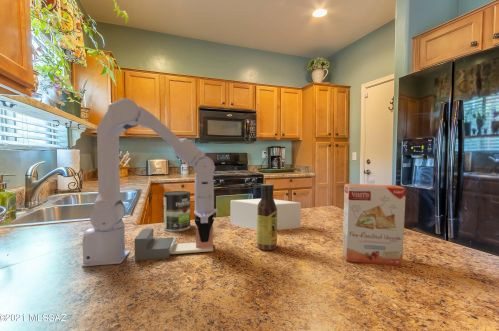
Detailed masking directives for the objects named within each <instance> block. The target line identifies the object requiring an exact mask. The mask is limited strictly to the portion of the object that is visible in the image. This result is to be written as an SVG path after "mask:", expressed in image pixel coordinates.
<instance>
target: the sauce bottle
mask: <svg viewBox="0 0 499 331" xmlns="http://www.w3.org/2000/svg"><path fill="white" fill-rule="evenodd" d="M274 188H275V187H274V184H271V183H263V184H262V183H261V184H260V191H261V193H260V194H261V196H260V199H261V200H260V202H259V204H258V208H257V209H258V214H257V230H256V243H257V248H258V249H260V250H262V251H273V250H275V249H276V248H277V243H278V230H277V208H276V205H275V202H274V199H275V198H274Z"/></svg>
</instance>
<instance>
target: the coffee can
mask: <svg viewBox="0 0 499 331" xmlns="http://www.w3.org/2000/svg"><path fill="white" fill-rule="evenodd" d="M162 195H163V230H164V231H165V232H173V233H175V232H183V231H186V230H189V229H190V228H191V192H190V191H186V190H173V191H166V192H163V194H162Z"/></svg>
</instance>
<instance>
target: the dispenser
mask: <svg viewBox="0 0 499 331" xmlns="http://www.w3.org/2000/svg"><path fill="white" fill-rule="evenodd" d="M133 241H134V261H135V262H137V261H148V260H150V261H151V260H152V261H153V260H162V259H163V260H164V259H170V258H171V254H170V252H172V251H173V248H174V245H175V244H176V242H177V238H176V237H172V236H171V237H156V238H155V237H154V228H153V227H152V228H142V230H141V231H139V233H138V234H137V236H136V237H135V238H134V240H133Z"/></svg>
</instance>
